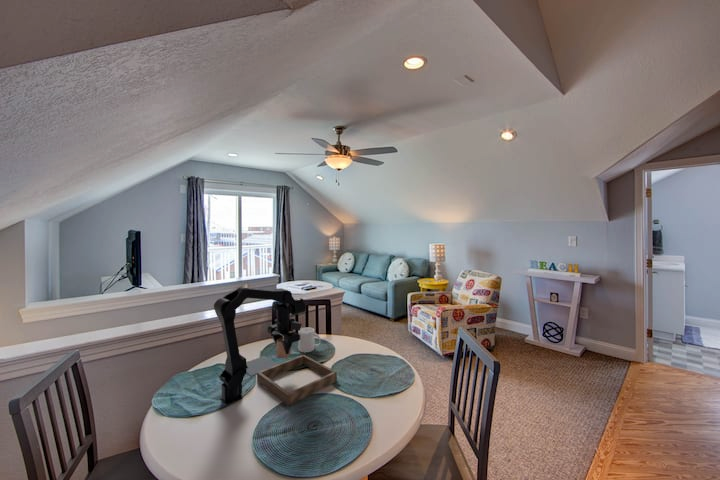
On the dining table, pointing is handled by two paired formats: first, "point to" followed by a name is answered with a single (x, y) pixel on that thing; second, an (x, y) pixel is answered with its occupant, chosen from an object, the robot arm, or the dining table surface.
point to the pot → (281, 349)
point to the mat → (259, 365)
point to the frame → (299, 393)
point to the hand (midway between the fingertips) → (283, 351)
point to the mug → (307, 340)
